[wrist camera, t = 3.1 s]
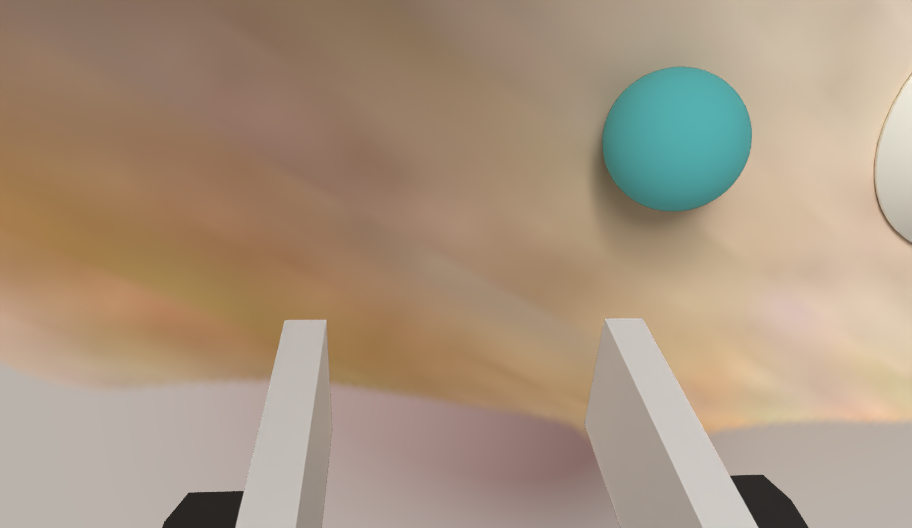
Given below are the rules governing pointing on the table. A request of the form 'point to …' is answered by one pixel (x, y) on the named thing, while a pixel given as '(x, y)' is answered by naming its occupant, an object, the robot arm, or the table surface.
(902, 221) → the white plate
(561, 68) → the table surface
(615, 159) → the ball
